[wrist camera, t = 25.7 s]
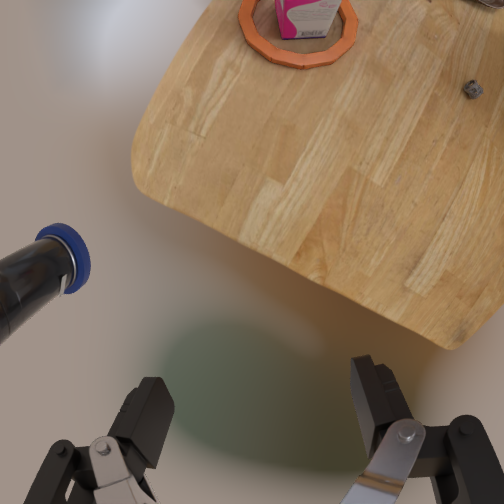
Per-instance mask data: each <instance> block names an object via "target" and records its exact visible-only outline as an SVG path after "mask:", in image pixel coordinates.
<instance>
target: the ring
mask: <svg viewBox="0 0 504 504" xmlns="http://www.w3.org/2000/svg"><path fill="white" fill-rule="evenodd" d="M259 1H260V0H243V1H242V4H241V7H240V11H239V14H238V19H239V23H240V25H241V28H242V31H243V33H244V36H245V38H246V41H247V43H248V45H249V46H251V47H252V48H253V49H255V50H256V51H257V52H259V53H260V54H261V55H263V56H264V57H265V58H266V59H268V60H269V61H270V62H271V61H272V63H276V64H281V65H285V66H289V67H293V68H297V69H302V68H303V69H308V68H313V67H319V66H324V65H330V64H333V63H334V62H335V61H336V60H337V59H338V58H340V57H341V56H342V55H343V54H344V53H345V52H347V51H348V50H349V49H350V48H351V47H352V46H353V45H354V43H355V38H356V32H357V27H358V18H357V16H356V14H355V12H354V10H353V8H352V6H351V4H350V2H349V0H342V1H341V3H340V6H339V8H338V12H339V14H340V16H341V18H342V21H343V23H344V24H343V29H342V34H341V39H340V40H339V41H337V42H336V43H335V44H334V45H333V46H331V47H330V48H329V49H328V50H326V51H320V52H315V53H309V54H304V55H302V54H298V53H294V52H290V51H286V50H282V49H277V48H276V47H275V46H273V45H272V44H271V43H269V42H268V41H267V40H265V39H264V38H263V37H261V36H260V35H259V34H258V32H257V29H256V27H255V24H254V22H253V19H252V18H253V14H254V11H255V8H256V5H257V2H259Z"/></svg>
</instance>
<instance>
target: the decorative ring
mask: <svg viewBox="0 0 504 504" xmlns="http://www.w3.org/2000/svg"><path fill="white" fill-rule="evenodd" d="M471 83H473V84H472V85H471V86H470V87H469V85H470V84H471ZM464 91H466V92H467V93H468V95H469V96H470V98H471V99H476V98H478V97H479V96H480V95H481V94H482V93H483V88H481V87H480V85H478V83H477V81H476V80H471V81H469V82H468V83H467V84H466V85H465V87H464ZM475 92H477V93H479V94H477V93H475Z"/></svg>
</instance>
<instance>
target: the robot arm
mask: <svg viewBox="0 0 504 504" xmlns="http://www.w3.org/2000/svg"><path fill="white" fill-rule="evenodd" d="M77 275H78V263H77V259H76V256H75V253H74V251H73V249H72V248H71V246H70V245H69V244H68V242H67V241H66V240H65V239H63V238H62V237H60V236H58V235H56V234H48V235H46V236H44V237H42V238H41V239H39V240H37V241H35V242H33V243H31V244H29V245H27V246H25V247H23V248H21V249H19V250H18V251H16V252H14V253H12V254H10V255H8V256H6V257H5V258H3V259H1V260H0V345H2V344H3V343H4V342H5V341H6V340H7V339H8V338H9V337H10V336H11V335H12V334H13V333H15V332H16V331H17V330H18V329H19V328H20V327H21V326H22V325H23V324H24V323H26V322H27V321H28V320H29V319H30V318H31V317H33V316H34V315H35V314H36V313H37V312H38V311H40V310H41V309H42V308H43V307H44V306H46V305H47V304H48V303H49V302H50V301H52V300H53V299H54V298H55V297H57V296H58V295H59V294H60V295H59V296H61V295H63V294H64V290H65V289H67V288H69V287H70V286H71V285H73V284H74V282H75V281H76V279H77ZM350 382H351V383H350V385H351V394H352V399H353V402H354V406H355V410H356V413H357V417H358V420H359V424H360V428H361V432H362V436H363V440H364V444H365V448H366V452H367V456H368V459H370V458H372V459H371V461H370V463H369V464H368V466H367V468H366V469H365V471H364V472H363V474H362V475H360V476H359V477H358V478H357V479H356V480H355V482H354V483H353V485H352V486H351V488H350V489H349V491H348V492H347V494H346V495H345V497H344V498H343V499H342V501H341V502H340V504H394V503H395V502H396V500H397V498H398V496H399V494H400V492H401V490H402V488H403V486H404V484H405V482H406V480H407V478H416V477H430V479H431V483H432V486H433V491H434V495H435V499H436V503H437V504H504V473H503V470H502V468H501V465H500V463H499V460H498V458H497V456H496V453H495V451H494V449H493V446H492V445H491V442H490V440H489V438H488V435H487V433H486V431H485V429H484V427H483V425H482V423H481V421H480V420H479V419H478V418H476V417H474V416H472V415H461V416H459V417H457V418H455V419H454V420H453V421H452V422H451V423H450V425H448V426H435V427H429V426H425V425H422V424H421V423H420V422H419V421H417V420H415V419H414V418H413V416H412V414H411V412H410V410H409V407H408V405H407V403H406V401H405V398H404V396H403V394H402V392H401V390H400V388H399V385H398V383H397V382H396V379H395V377H394V374H393V372H392V370H390V369H389V368H388V367H387V366H385V365H384V364H380V365H376V366H374V363H373V361H372V359H371V356H370V355H364V356H359V357H354V358H351V381H350ZM173 414H174V401H173V399H172V397H171V395H170V393H169V391H168V389H167V387H166V385H165V383H164V381H163V379H162V378H160V377H144V378H143V379H142V381H141V383H140V385H139V387H138V388H134V389H133V390H132V391H131V392H130V393H129V394H128V395H127V397H126V399H125V401H124V403H123V405H122V407H121V409H120V412H119V413H118V415H117V416H116V418H115V421H114V423H113V425H112V426H111V428H110V431H109V433H108V435H107V436H102V437H99V438H97V439H96V440H95V441H93V442H92V444H91V445H90V446H86V447H75V446H74V445H73V444H72V443H71V442H70V441H68V440H59V441H57V442H55V443H54V444H53V445H52V446H51V448H50V450H49V452H48V454H47V456H46V458H45V459H44V461H43V463H42V465H41V467H40V470H39V471H38V473H37V476H36V478H35V480H34V482H33V484H32V486H31V488H30V490H29V492H28V495H27V497H26V499H25V501H24V503H23V504H160V502H159V500H158V498H157V496H156V494H155V492H154V490H153V488H152V486H151V484H150V482H149V480H148V478H147V476H146V474H145V473H144V472H145V469H146V468H152V469H156V466H157V463H158V460H159V457H160V454H161V451H162V448H163V444H164V441H165V438H166V435H167V432H168V429H169V426H170V423H171V420H172V417H173ZM71 479H73V480H74V481H75V483H74V486H73V488H72V491H71V493H70V496H69V498H68V501H66V499H65V493H66V491H67V488H68V486H69V483H70V481H71Z"/></svg>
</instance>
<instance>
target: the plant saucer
mask: <svg viewBox="0 0 504 504" xmlns="http://www.w3.org/2000/svg"><path fill="white" fill-rule="evenodd" d="M475 1H477V2H479V3H482V4H484V5H486V6H489V7H493V8H498V9H501V8H504V0H475Z"/></svg>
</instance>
